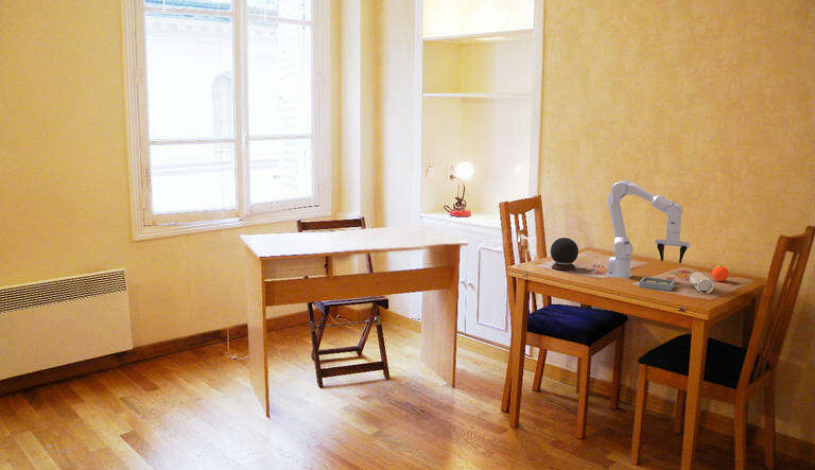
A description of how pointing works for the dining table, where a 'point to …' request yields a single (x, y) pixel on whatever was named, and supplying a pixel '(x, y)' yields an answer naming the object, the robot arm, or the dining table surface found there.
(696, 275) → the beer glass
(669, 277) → the lid
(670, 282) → the tub
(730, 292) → the dining table surface
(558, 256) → the black ball on stand
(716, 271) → the clementine
